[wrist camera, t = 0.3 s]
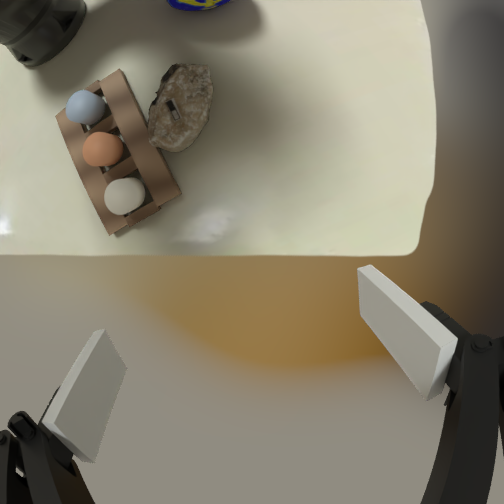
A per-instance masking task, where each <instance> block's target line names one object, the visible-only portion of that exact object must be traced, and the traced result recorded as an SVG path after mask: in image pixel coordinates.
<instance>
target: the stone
mask: <svg viewBox="0 0 504 504" xmlns="http://www.w3.org/2000/svg"><path fill="white" fill-rule="evenodd" d="M209 72H210V70H209V67H208V66H207V65H196V64H191V65H186V64H177V63H176V64H174V65H172V66H171V67H170V68H169V70H168V71H167V72H166V74H165V75H164V76H163V77H162V80H161V84H160V88H159V90H158V92H155V93H157V97H156V98H155V100H154V101H153V102H152V104H151V106H150V109H149V120H148V133H149V142H150V144H151V145H152V146H154V147H160V148H162V149H165V150H167V151H169V152H179V151H182V150H183V149H186V148H187V147H188V146H190V145H191V144H192V143H193V142H194V141H195V139H196V138H197V137H198V135H199V134H200V132H201V130H202V128H203V127H204V125H205V124H206V123H207V122H208V120H209V109H210V106H211V102H212V94H213V85H212V82H211V78H210V74H209Z"/></svg>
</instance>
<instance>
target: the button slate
mask: <svg viewBox="0 0 504 504" xmlns="http://www.w3.org/2000/svg"><path fill="white" fill-rule="evenodd" d="M104 111H105V102H104V100H103V99H102V98H101V97H100V96H98V95H96V94H93V93H91V92H89V91H87V90H79V91H77V92H75V93H74V94H73V95H72V96H71V97H70V98H69V100H68V102H67V105H66V116H67V118H68V119H69V120H70V121H73V122H77V123H82V124H86V125H92V124H95V123H96V122H98V121H99V120H100V119H101V117H102V116H103V114H104Z"/></svg>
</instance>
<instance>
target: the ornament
mask: <svg viewBox="0 0 504 504" xmlns="http://www.w3.org/2000/svg"><path fill="white" fill-rule="evenodd" d="M229 1H231V0H167V2H168V3H169V4H170V5H171V6H172V7H174V8H176V9H180V10H186V11H196V10H206V9H211V8H214V7H217V6H220V5H223V4H225V3H227V2H229Z"/></svg>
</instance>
